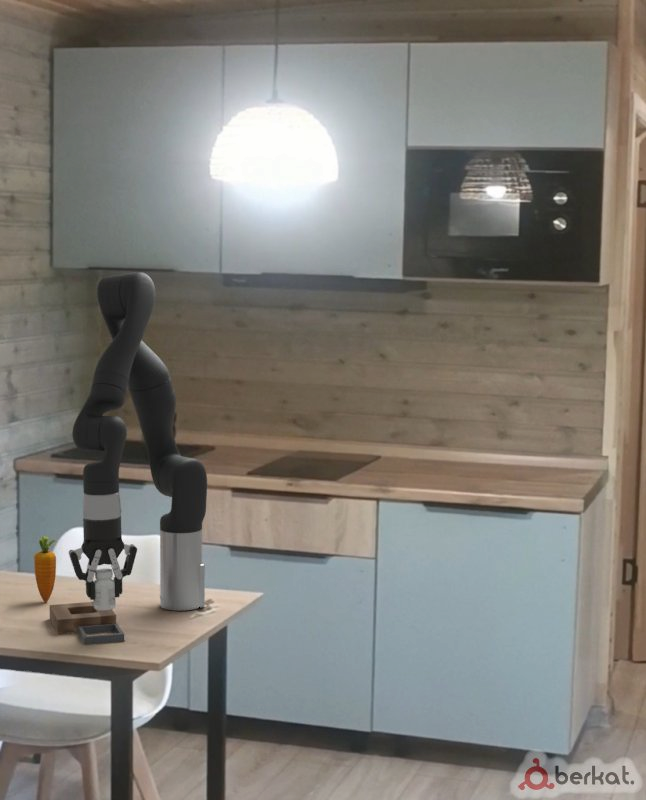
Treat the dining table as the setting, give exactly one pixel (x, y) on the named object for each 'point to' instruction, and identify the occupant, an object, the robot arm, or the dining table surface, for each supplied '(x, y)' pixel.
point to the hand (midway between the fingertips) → (104, 597)
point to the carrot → (45, 569)
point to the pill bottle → (104, 590)
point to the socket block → (78, 616)
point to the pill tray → (101, 638)
